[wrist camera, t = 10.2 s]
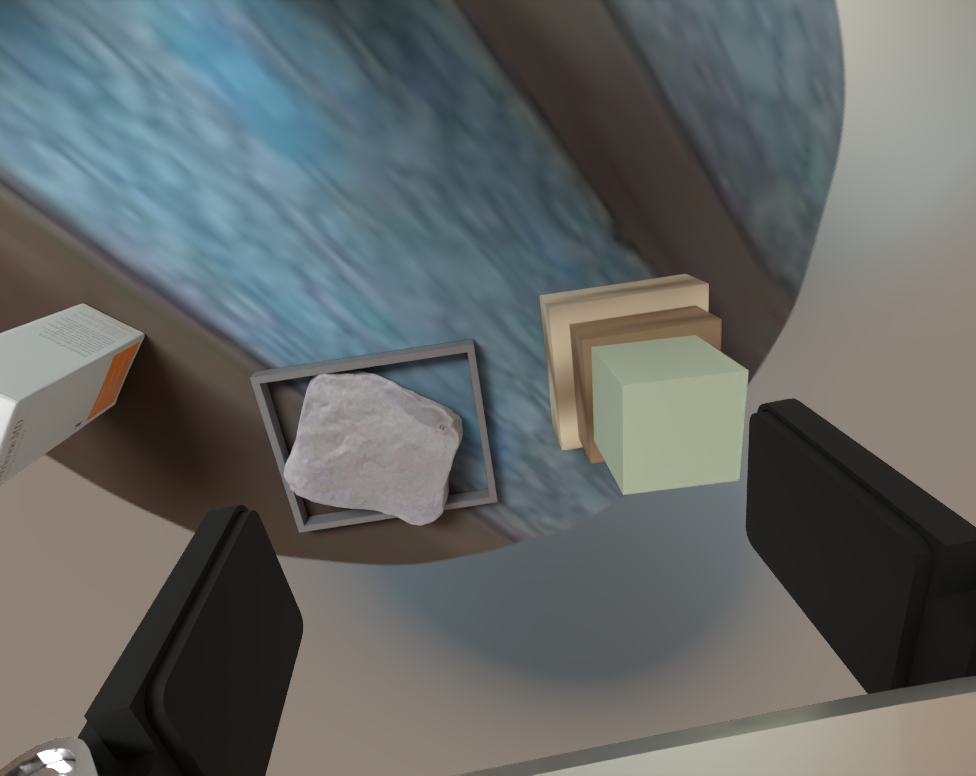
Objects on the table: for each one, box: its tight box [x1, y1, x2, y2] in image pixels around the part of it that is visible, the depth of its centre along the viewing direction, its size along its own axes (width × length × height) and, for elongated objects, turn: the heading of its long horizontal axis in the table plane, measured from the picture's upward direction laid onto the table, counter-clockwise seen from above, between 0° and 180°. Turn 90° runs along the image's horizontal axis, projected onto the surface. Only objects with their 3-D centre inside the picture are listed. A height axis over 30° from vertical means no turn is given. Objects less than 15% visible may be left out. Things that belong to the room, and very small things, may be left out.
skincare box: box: [0, 304, 145, 485], centre depth 31 cm, size 6×4×12 cm
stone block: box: [284, 370, 463, 526], centre depth 40 cm, size 12×5×10 cm
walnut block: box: [569, 305, 722, 464], centre depth 34 cm, size 8×8×4 cm
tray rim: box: [250, 339, 498, 533], centre depth 40 cm, size 12×15×1 cm
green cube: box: [591, 335, 749, 495], centre depth 30 cm, size 6×6×6 cm
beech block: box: [540, 274, 709, 450], centre depth 38 cm, size 10×10×4 cm
